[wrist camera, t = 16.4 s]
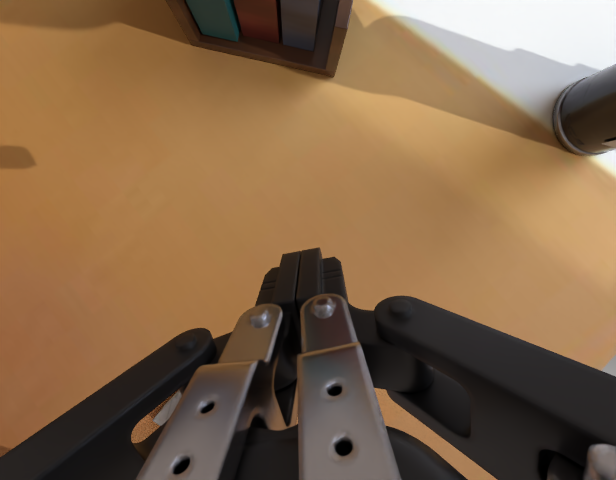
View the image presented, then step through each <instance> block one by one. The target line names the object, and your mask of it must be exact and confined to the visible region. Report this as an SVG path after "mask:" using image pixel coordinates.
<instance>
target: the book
mask: <svg viewBox="0 0 616 480" xmlns="http://www.w3.org/2000/svg"><path fill="white" fill-rule="evenodd" d="M186 2H187V4H188V6H189V8H190V10H191V12H192V14H193V16H194V18H195V20H196V22H197V24H198V26H199V28H200V30H201V32H202V34H205V35H209V36H213V37H218V38H222V39H227V40H231V41H236V42H238V37H239V31H240V22H239V19H238V15H237V11H236V8H235V4H234V1H233V0H186Z"/></svg>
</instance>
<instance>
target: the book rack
mask: <svg viewBox="0 0 616 480" xmlns="http://www.w3.org/2000/svg"><path fill="white" fill-rule="evenodd" d="M233 1H234V4H235V8H236V11H237V15H238V19H239V22H240V31H239V37H238V42H236V41H231V40H227V39H222V38H218V37H213V36H209V35H205V34H202V32H201V30H200V28H199V26H198V24H197V22H196V20H195V18H194V16H193V14H192V12H191V10H190V8H189V6H188V4H187V2H186V0H166V2H167V3H168V5H169V7H170V9H171V10H172V12H173V14H174V15H175V17H176V19H177V21H178V22H179V24H180V26H181V27H182V29H183V31H184V33H185V34H186V36H187V38H188V39H189V41H190V42H191V44H192V45H193V46H198V47H202V48H207V49H211V50H216V51H220V52H225V53H229V54H234V55H238V56H243V57H247V58H252V59H256V60H261V61H265V62H270V63H274V64H279V65H283V66H288V67H292V68H297V69H301V70H306V71H310V72H315V73H319V74H324V75H328V76H333V77H334V75H335V72H336V68H337V65H338V61H339V58H340V54H341V50H342V47H343V43H344V40H345V36H346V32H347V29H348V23H349V18H350V13H351V8H352V3H353V0H233Z"/></svg>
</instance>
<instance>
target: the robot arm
mask: <svg viewBox="0 0 616 480" xmlns="http://www.w3.org/2000/svg"><path fill="white" fill-rule="evenodd" d="M553 124H554V130H555V133H556V135H557V137H558V139H559V141H560V142H561V143H562V145H563V146H564V147H565V148H567V149H568V150H569V151H571V152H573V153H575V154H578V155H583V156H593V155H598V154H602V153H606V152H609V151H612V150H616V64H614V65H612V66H610V67H608V68H606V69H604V70H602V71H600V72H598V73H596V74H594V75H591V76H589V77H586V78H583V79H581V80H579V81H577V82H575V83H573V84H572V85H570V86H569V87H568V88H567V89H566V90H564V92H563V93H562V94H561V95H560V97H559V99H558V101H557V103H556V105H555V109H554V114H553ZM374 388H380V389H386V390H387V393H388V395H389V397H390V398H391V399H392V400H393V401H394V402H395V403H397V404H398V405H399V406H401V407H402V408H403V409H405V410H406V411H407V412H409V413H410V414H411V415H413V416H414V417H415V418H417V419H418V420H419V421H421V422H422V423H423V424H425V425H426V426H427V427H429V428H430V429H431V430H433V431H434V432H435V433H437V434H438V435H439V436H441V437H442V438H443V439H445V440H446V441H447V442H449V443H450V444H451V445H452V446H454V447H455V448H456V449H458V450H459V451H460V452H462V453H463V454H464V455H466V456H467V457H468V458H470V459H471V460H472V461H474V462H475V463H476V464H478V465H479V466H480V467H482V468H483V469H484V470H486V471H487V472H488V473H490V474H491V475H492V476H494V477H495V478H496V479H498V480H616V377H615V376H612V375H610V374H608V373H605V372H602V371H600V370H597V369H595V368H592V367H590V366H587V365H585V364H582V363H580V362H577V361H574V360H572V359H569V358H567V357H564V356H562V355H559V354H557V353H554V352H552V351H549V350H546V349H544V348H541V347H539V346H536V345H534V344H531V343H529V342H526V341H524V340H521V339H519V338H516V337H513V336H511V335H508V334H506V333H503V332H501V331H498V330H496V329H493V328H491V327H488V326H485V325H483V324H480V323H478V322H475V321H473V320H470V319H468V318H465V317H463V316H460V315H457V314H455V313H452V312H450V311H447V310H445V309H442V308H440V307H437V306H435V305H432V304H429V303H427V302H424V301H422V300H419V299H417V298H414V297H409V296H394V297H390V298H387V299H384V300H382V301H381V302H380V303H378V304H377V306H376V307H375V309H374V311H369V310H361V309H358V308H355V307H353V306H352V305H350V304H349V303H348V297H347V292H346V287H345V282H344V277H343V271H342V266H341V262H340V261H339V260H338V259H336V258H335V257H330V258H325V259H322V254H321V250H320V248H314V249H308V250H303V251H302V252H301V251H298V252H292V253H287V254H283V255H282V259H281V263H280V267H276V268H272V269H271V270H270V271H269V272H268V273H267V274H266V275H265V277H264V280H263V284H262V286H261V291H260V292H259V295H258V298H257V301H256V305H255V307H253V308H251V309H249V310H247V311H246V312H245V313H243V314H242V315H241V317H240V318H239V320H238V322H237V324H236V326H235V328H234V330H233V332H230V333H228V334H225V335H223V336H220V337H217V338H215V339H213V338H212V335H211V333H210V331H209V330H207V329H205V328H196V329H191V330H188V331H186V332H183V333H181V334H180V335H178V336H176V337H175V338H173V339H172V340H170V341H169V342H168V343H166V344H165V345H163V346H162V347H160V348H159V349H157V350H156V351H154V352H153V353H152V354H150V355H149V356H147V357H146V358H144V359H143V360H141V361H140V362H138V363H137V364H136V365H134V366H133V367H131V368H130V369H128V370H127V371H125V372H124V373H122V374H121V375H120V376H118V377H117V378H115V379H114V380H112V381H111V382H109V383H108V384H106V385H105V386H104V387H102V388H101V389H99V390H98V391H96V392H95V393H93V394H92V395H90V396H89V397H87V398H86V399H85V400H83V401H82V402H80V403H79V404H77V405H76V406H74V407H73V408H71V409H70V410H69V411H67V412H66V413H64V414H63V415H61V416H60V417H58V418H57V419H55V420H54V421H53V422H51V423H50V424H48V425H47V426H45V427H44V428H42V429H41V430H39V431H38V432H37V433H35V434H34V435H32V436H31V437H29V438H28V439H26V440H25V441H23V442H22V443H21V444H19V445H18V446H16V447H15V448H13V449H12V450H10V451H9V452H7V453H6V454H5V455H3V456H2V457H0V480H467V479H466V478H465V477H464V476H463V475H462V474H461V473H459V472H458V471H457V470H456V469H455V468H454V467H452V466H451V465H450V464H449V463H448V462H447V461H445V460H444V459H443V458H442V457H441V456H440V455H438V454H437V453H436V452H435V451H434V450H432V449H431V448H430V447H429V446H427V445H426V444H424V443H423V442H421V441H420V440H418V439H417V438H415V437H413V436H411V435H409V434H407V433H405V432H403V431H400V430H398V429H395V428H392V427H388V426H385V423H384V420H383V416H382V413H381V410H380V406H379V403H378V400H377V397H376V393H375V390H374ZM178 389H179V391H180V393H181V395H182V397H181V398H180V400H179V402H178V404H177V406H176V407H175V409H174V411H173V413H172V415H171V416H170V418H169V419H168V420H167V421H166V422H165V423H164V424H162V425H161V426H160V427H159V428H158V429H157V430H156V431H154V432H153V433H152V434H151V435H150V436H149V437H147V438H146V439H145V440H143V441H142V442H139V443H132V441H131V434H132V431H133V429H134V427H135V426H136V424H137V423H138V422H139V421H140V420H141V419H142V418H144V417H145V416H146V415H147V414H148V413H150V412H151V411H152V410H153V409H155V408H156V407H157V406H158V405H159V404H161V403H162V402H163V401H164V400H166V399H167V398H168V397H169V396H170V395H172V394H173V393H174V392H175V391H177V390H178ZM297 416H298V424H297V425H296V423H297Z"/></svg>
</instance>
